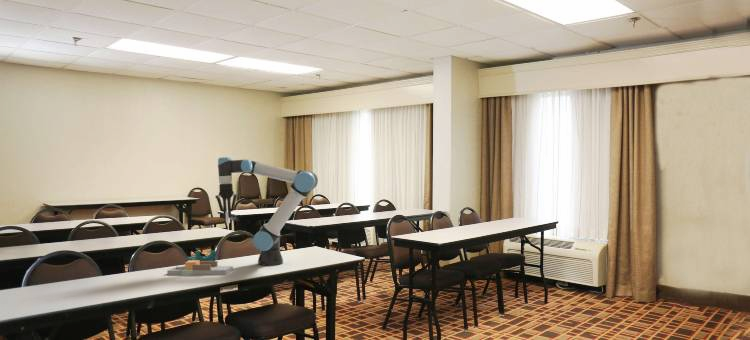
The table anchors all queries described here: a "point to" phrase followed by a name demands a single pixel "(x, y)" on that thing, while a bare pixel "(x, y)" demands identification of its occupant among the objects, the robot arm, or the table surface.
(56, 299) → the table surface
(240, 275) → the table surface
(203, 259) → the teal l-shaped bracket
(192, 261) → the block
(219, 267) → the deck
